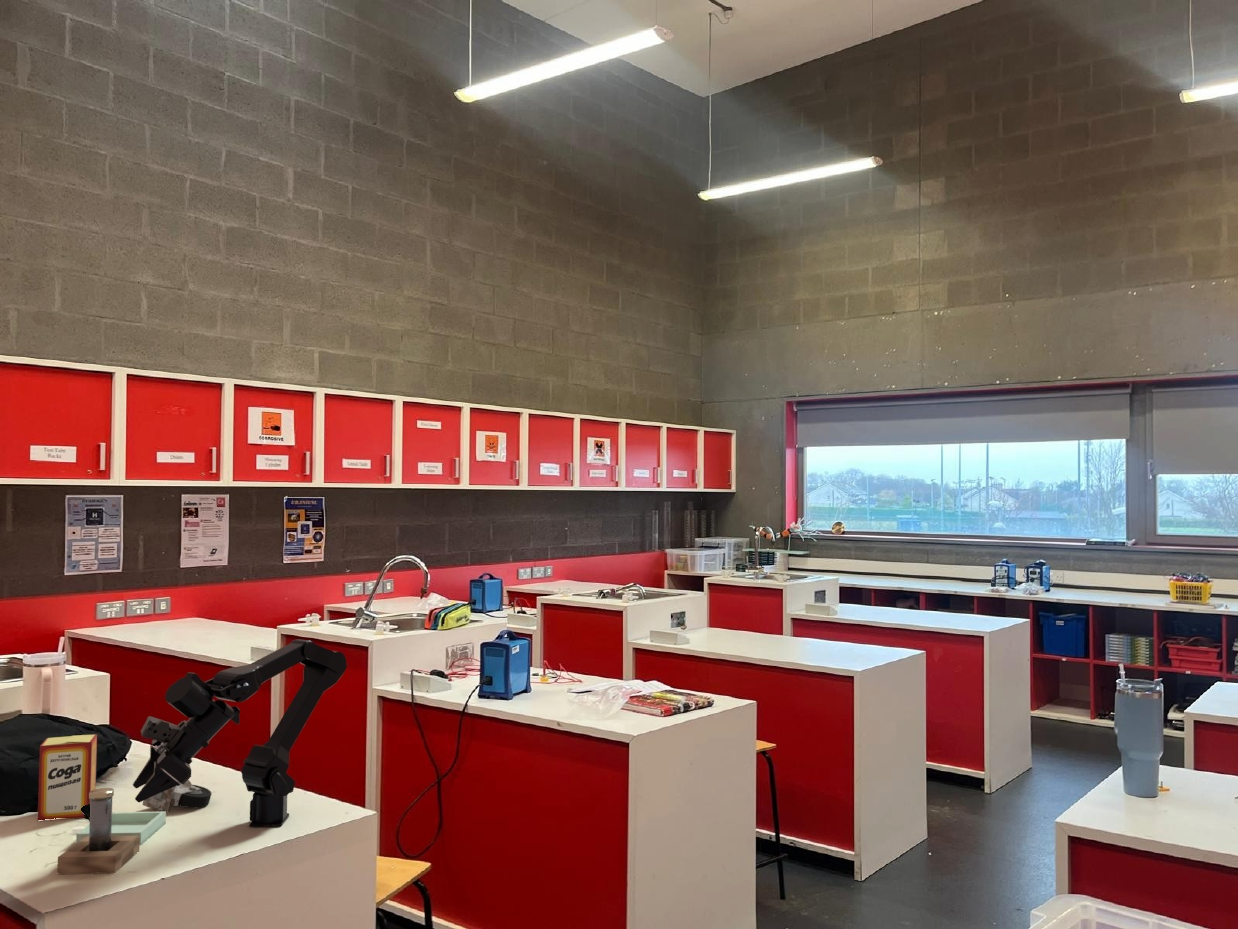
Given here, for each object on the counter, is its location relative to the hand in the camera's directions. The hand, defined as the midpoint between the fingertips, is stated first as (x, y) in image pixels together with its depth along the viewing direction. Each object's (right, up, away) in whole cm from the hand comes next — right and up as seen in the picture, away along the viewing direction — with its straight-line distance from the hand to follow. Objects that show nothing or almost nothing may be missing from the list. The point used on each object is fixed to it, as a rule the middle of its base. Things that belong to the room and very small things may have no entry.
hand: (135, 793), depth 175 cm
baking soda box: (-26, -12, +22) cm, 37 cm away
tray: (-8, -12, +11) cm, 18 cm away
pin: (-5, -12, -3) cm, 13 cm away
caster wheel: (-5, -13, +28) cm, 31 cm away
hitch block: (-5, -12, -3) cm, 13 cm away
